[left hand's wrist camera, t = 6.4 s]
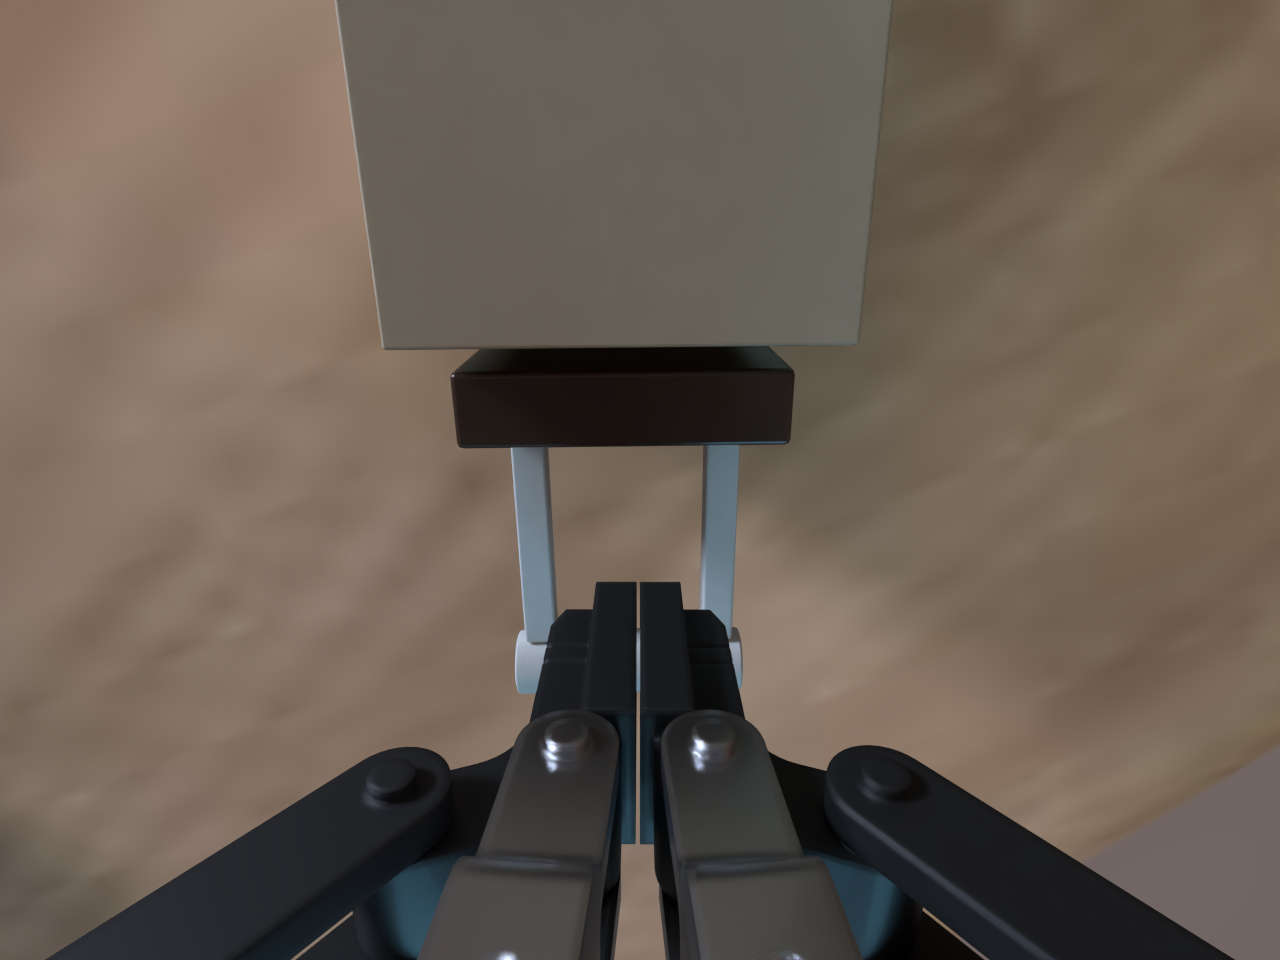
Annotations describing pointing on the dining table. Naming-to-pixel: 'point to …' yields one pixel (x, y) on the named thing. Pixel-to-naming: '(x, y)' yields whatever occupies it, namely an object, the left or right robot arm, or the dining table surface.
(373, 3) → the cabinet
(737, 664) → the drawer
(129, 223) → the dining table surface
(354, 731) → the dining table surface
